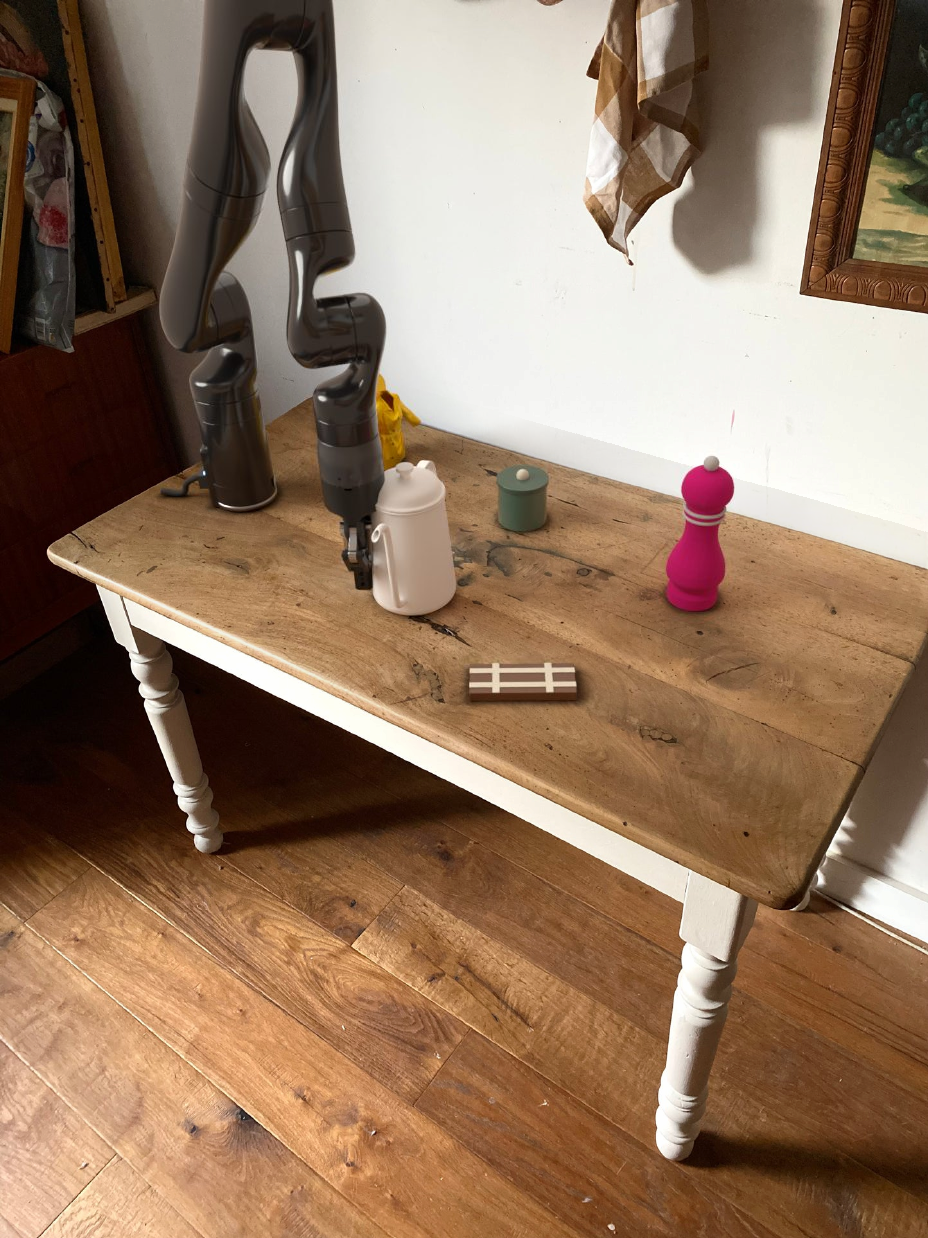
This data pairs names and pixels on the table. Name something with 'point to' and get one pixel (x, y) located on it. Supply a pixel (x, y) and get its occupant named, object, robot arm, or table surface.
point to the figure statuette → (392, 424)
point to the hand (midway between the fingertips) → (364, 586)
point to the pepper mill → (700, 538)
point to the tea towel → (522, 682)
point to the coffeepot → (412, 542)
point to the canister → (522, 497)
